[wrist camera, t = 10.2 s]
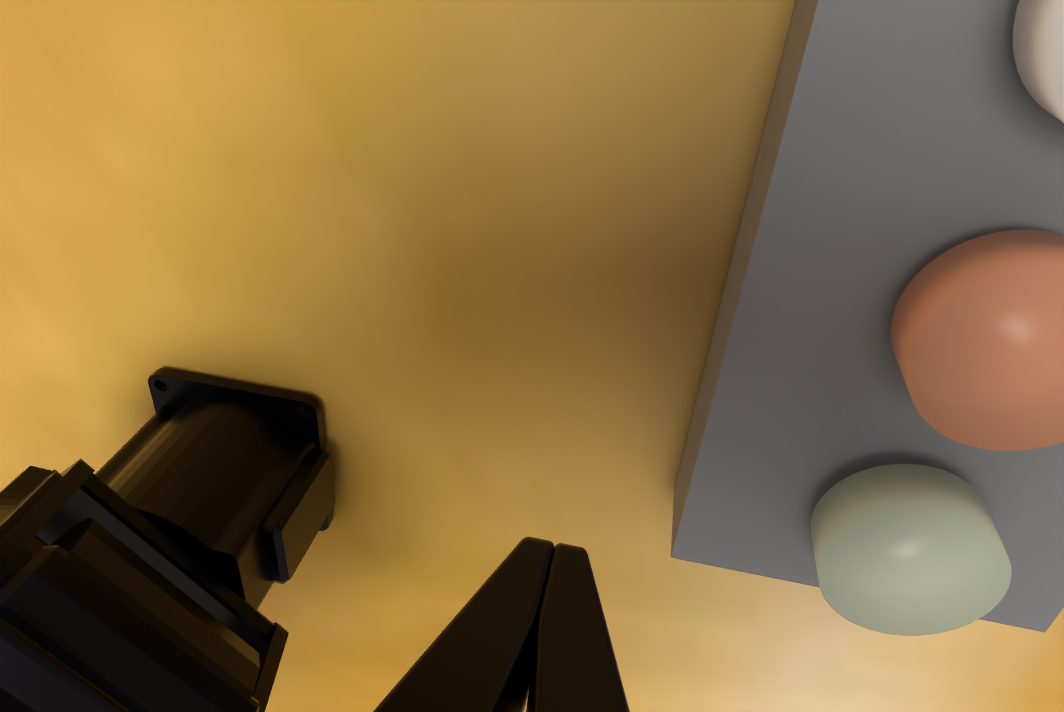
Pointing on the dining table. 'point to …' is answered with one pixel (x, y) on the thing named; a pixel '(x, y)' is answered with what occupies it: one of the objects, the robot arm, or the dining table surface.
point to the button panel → (868, 286)
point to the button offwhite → (1041, 52)
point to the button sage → (908, 551)
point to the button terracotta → (988, 341)
